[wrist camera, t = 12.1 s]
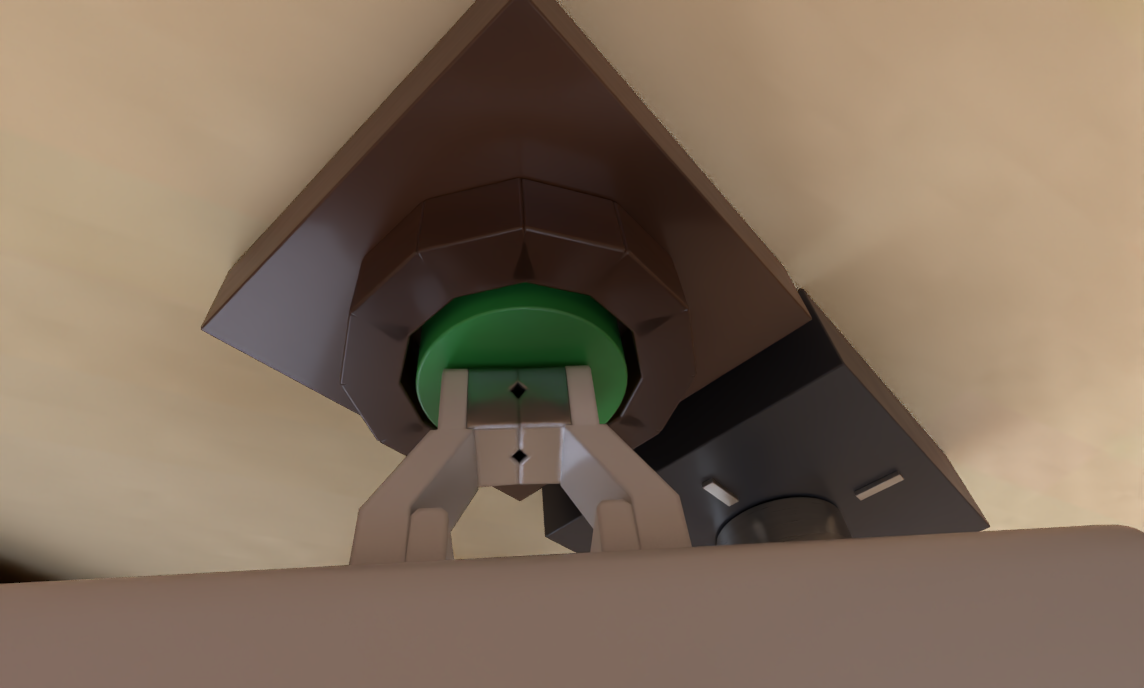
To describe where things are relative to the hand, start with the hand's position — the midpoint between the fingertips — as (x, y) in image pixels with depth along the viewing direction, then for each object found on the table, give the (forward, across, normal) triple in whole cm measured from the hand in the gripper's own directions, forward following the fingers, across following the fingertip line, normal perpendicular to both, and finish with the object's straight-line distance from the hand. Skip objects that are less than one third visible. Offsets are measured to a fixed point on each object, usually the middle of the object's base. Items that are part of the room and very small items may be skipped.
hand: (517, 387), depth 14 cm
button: (+2, 0, 0) cm, 2 cm away
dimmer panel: (+4, -8, +8) cm, 12 cm away
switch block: (+4, 0, 0) cm, 4 cm away
